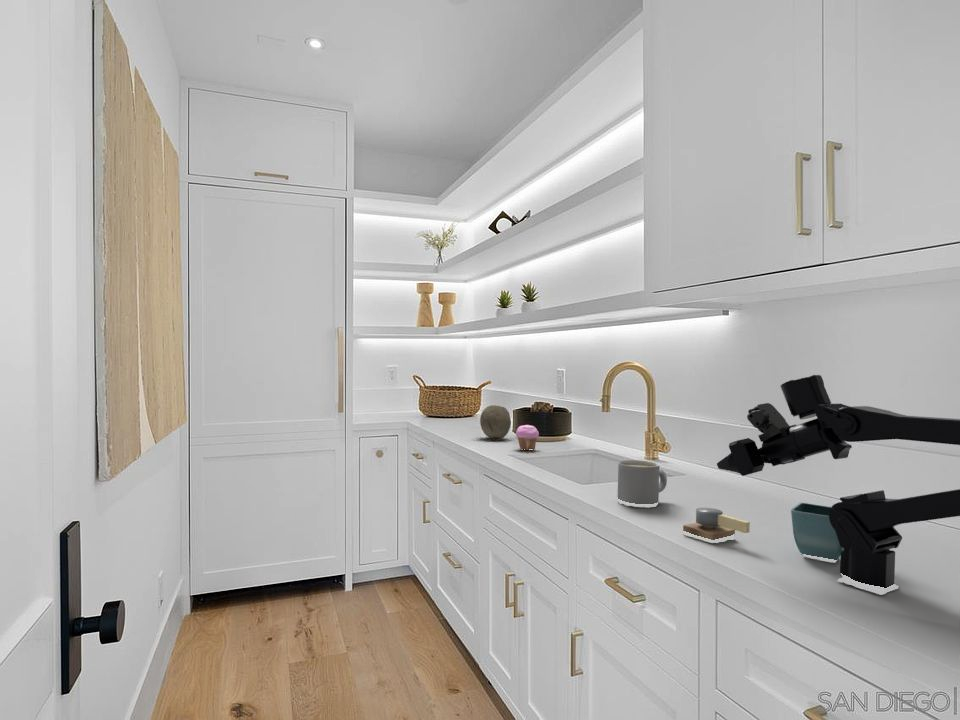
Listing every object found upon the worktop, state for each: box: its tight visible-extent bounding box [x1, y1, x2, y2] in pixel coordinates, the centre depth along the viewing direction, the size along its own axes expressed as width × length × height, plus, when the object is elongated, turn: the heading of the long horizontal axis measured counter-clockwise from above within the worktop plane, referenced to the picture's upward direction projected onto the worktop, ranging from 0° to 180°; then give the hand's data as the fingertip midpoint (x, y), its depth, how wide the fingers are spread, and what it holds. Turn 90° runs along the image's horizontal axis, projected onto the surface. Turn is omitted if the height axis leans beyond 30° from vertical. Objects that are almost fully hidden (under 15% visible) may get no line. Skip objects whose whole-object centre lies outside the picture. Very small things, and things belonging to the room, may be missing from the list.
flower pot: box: [790, 502, 844, 561], centre depth 106 cm, size 9×9×9 cm
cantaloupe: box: [479, 405, 512, 441], centre depth 252 cm, size 14×14×15 cm
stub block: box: [682, 522, 736, 540], centre depth 117 cm, size 7×7×3 cm
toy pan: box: [695, 507, 751, 534], centre depth 114 cm, size 11×5×2 cm, turn 32°
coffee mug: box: [616, 459, 668, 504], centre depth 144 cm, size 13×10×10 cm
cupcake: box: [515, 424, 540, 451], centre depth 224 cm, size 9×9×10 cm
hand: (732, 462), depth 115 cm, fingers open, 9 cm apart
